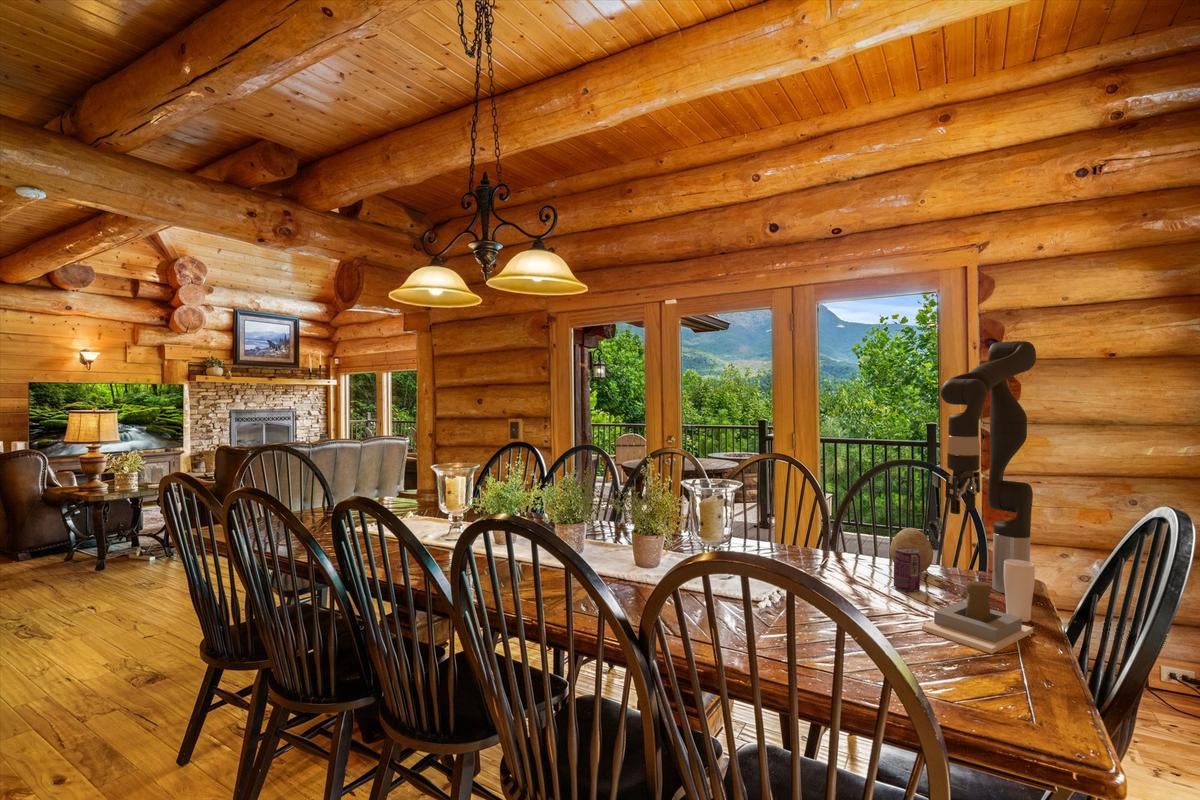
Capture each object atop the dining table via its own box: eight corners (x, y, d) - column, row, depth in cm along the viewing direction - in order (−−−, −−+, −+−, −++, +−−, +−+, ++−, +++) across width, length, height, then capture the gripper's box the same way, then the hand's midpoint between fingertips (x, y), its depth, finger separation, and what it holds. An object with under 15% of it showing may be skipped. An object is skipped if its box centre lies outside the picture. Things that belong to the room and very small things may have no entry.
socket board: (964, 612, 161) (965, 597, 161) (1033, 632, 148) (1033, 615, 148) (921, 630, 149) (922, 613, 149) (991, 653, 136) (992, 635, 136)
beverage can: (920, 588, 181) (921, 549, 181) (918, 594, 175) (919, 554, 175) (894, 583, 185) (895, 545, 184) (892, 590, 179) (892, 550, 178)
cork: (996, 631, 145) (997, 587, 145) (969, 629, 147) (970, 585, 147) (986, 622, 151) (987, 579, 151) (960, 619, 153) (961, 577, 152)
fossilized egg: (922, 567, 202) (922, 524, 201) (940, 579, 189) (941, 533, 189) (883, 566, 203) (884, 523, 202) (898, 578, 190) (899, 532, 190)
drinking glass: (1030, 616, 158) (1031, 561, 158) (1036, 625, 152) (1038, 567, 152) (1000, 612, 161) (1001, 557, 161) (1005, 621, 155) (1006, 564, 155)
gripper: (961, 448, 168) (960, 505, 168) (935, 453, 160) (935, 512, 160) (990, 451, 162) (990, 510, 162) (965, 456, 154) (965, 517, 154)
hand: (962, 511), depth 161 cm, fingers open, 8 cm apart
